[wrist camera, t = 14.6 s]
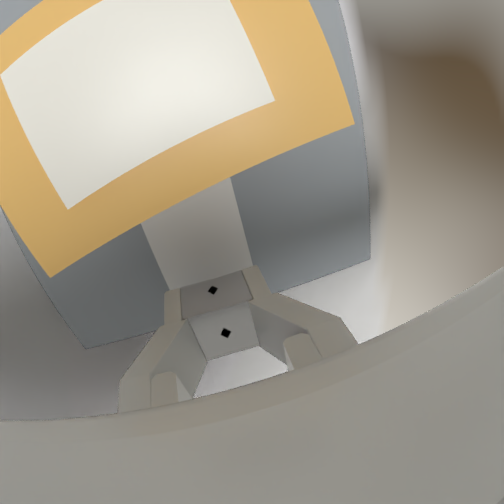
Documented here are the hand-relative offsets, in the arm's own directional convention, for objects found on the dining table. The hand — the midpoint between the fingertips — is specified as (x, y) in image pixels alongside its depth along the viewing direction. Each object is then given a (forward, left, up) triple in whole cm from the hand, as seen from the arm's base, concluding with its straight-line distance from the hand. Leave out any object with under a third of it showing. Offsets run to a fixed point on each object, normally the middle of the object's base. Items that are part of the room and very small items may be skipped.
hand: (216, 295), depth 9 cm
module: (0, +7, -2) cm, 7 cm away
